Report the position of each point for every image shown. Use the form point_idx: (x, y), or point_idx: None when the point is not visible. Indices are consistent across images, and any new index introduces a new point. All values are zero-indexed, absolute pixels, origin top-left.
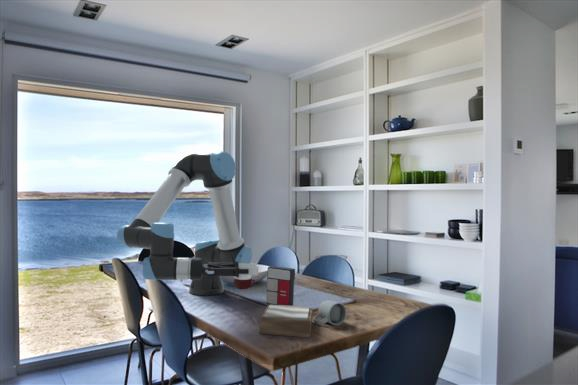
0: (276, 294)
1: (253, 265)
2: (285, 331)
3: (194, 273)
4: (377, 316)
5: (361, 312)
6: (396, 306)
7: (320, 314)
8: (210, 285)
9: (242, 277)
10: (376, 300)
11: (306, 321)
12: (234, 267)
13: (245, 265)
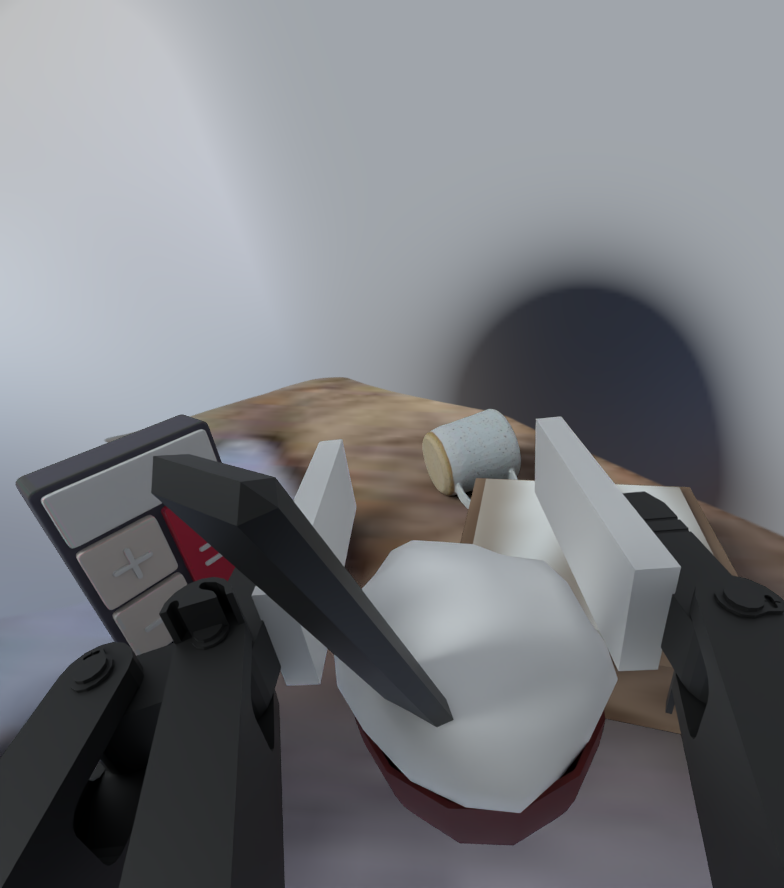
0: (182, 582)
1: (340, 471)
2: None
3: None
4: (413, 417)
5: (374, 433)
6: (338, 396)
7: (469, 482)
8: None
9: (606, 647)
10: (277, 412)
11: (695, 498)
12: (737, 662)
13: (323, 531)
